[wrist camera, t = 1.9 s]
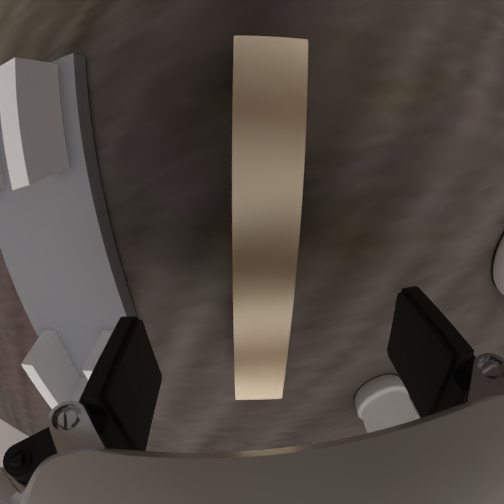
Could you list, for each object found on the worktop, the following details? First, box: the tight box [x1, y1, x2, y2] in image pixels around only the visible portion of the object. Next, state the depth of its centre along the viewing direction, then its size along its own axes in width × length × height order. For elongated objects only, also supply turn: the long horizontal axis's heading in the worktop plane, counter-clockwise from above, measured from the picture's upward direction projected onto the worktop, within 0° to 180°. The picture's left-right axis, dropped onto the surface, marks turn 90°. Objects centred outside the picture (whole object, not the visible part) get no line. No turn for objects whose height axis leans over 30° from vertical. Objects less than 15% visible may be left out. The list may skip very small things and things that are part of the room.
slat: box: [232, 36, 308, 400], centre depth 16 cm, size 20×3×4 cm, turn 179°
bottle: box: [355, 374, 419, 433], centre depth 14 cm, size 5×5×25 cm
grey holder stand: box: [0, 53, 138, 409], centre depth 16 cm, size 24×9×6 cm, turn 5°
